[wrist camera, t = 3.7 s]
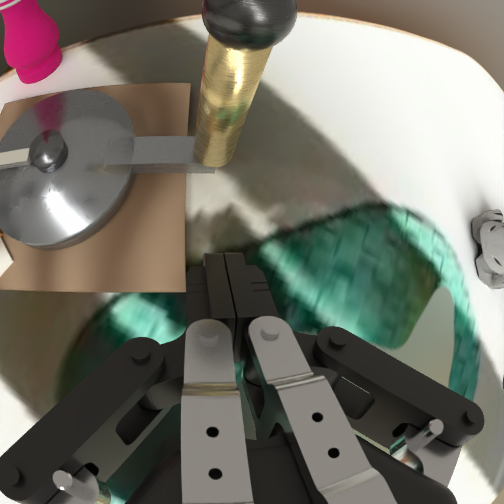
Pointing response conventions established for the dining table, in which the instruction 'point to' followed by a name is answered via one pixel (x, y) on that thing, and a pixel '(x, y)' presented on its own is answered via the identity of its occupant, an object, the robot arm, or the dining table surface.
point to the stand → (125, 221)
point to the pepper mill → (30, 40)
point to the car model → (490, 248)
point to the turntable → (130, 134)
